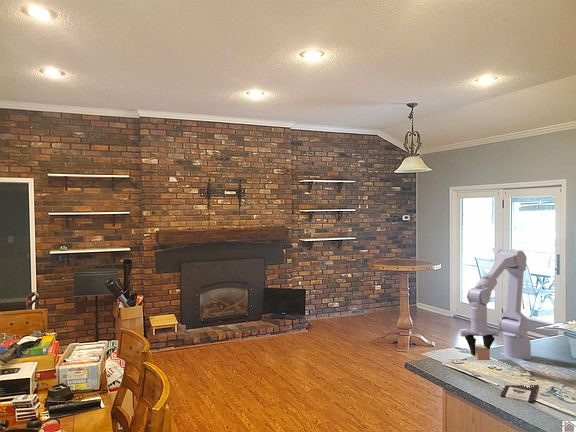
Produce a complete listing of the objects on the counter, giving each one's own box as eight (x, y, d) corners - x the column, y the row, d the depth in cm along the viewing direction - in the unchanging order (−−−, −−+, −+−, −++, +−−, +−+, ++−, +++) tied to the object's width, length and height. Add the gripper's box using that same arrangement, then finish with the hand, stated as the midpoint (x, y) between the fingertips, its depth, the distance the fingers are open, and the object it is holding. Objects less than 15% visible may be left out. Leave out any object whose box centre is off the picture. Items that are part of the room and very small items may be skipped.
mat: (510, 360, 168) (510, 359, 168) (536, 377, 150) (536, 375, 150) (455, 361, 168) (455, 359, 168) (475, 378, 150) (475, 376, 150)
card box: (481, 354, 165) (481, 344, 165) (489, 360, 158) (489, 349, 158) (469, 354, 165) (469, 344, 165) (477, 360, 158) (477, 349, 158)
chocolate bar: (538, 383, 144) (533, 401, 129) (538, 385, 144) (533, 404, 129) (509, 377, 149) (500, 395, 134) (509, 380, 149) (500, 398, 134)
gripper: (464, 322, 158) (465, 358, 158) (502, 321, 158) (503, 357, 158) (457, 317, 165) (457, 352, 165) (493, 317, 165) (494, 351, 165)
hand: (479, 354), depth 162 cm, fingers closed on card box, 4 cm apart
